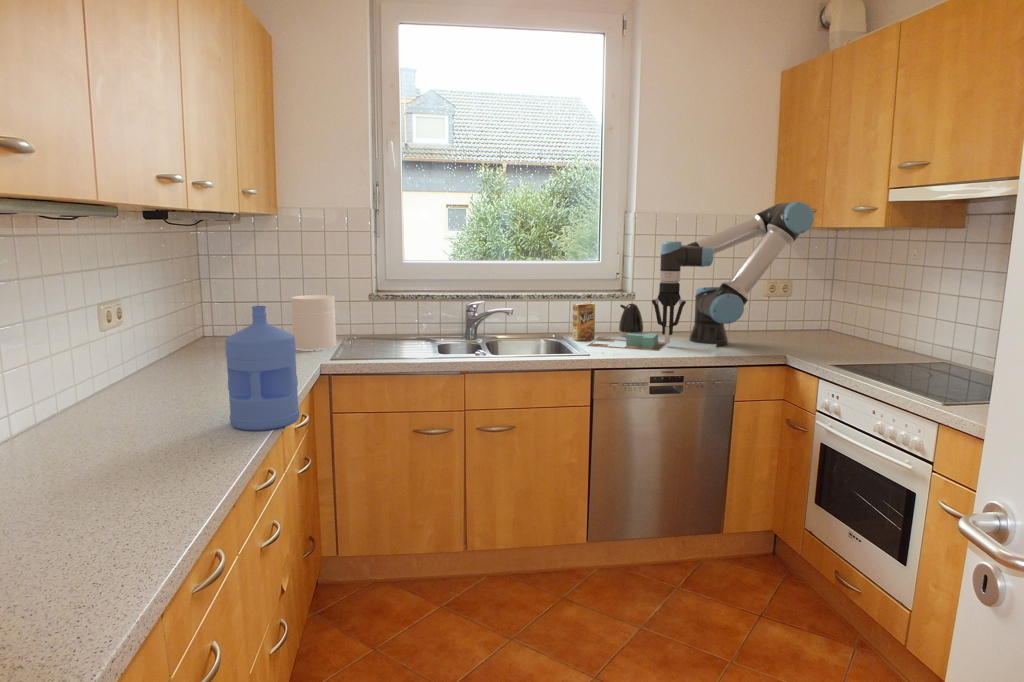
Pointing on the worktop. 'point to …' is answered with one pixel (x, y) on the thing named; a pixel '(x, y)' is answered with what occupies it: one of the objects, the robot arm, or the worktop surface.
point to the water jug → (262, 376)
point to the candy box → (583, 321)
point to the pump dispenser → (630, 320)
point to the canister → (314, 321)
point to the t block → (642, 340)
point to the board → (656, 348)
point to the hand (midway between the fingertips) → (667, 343)
